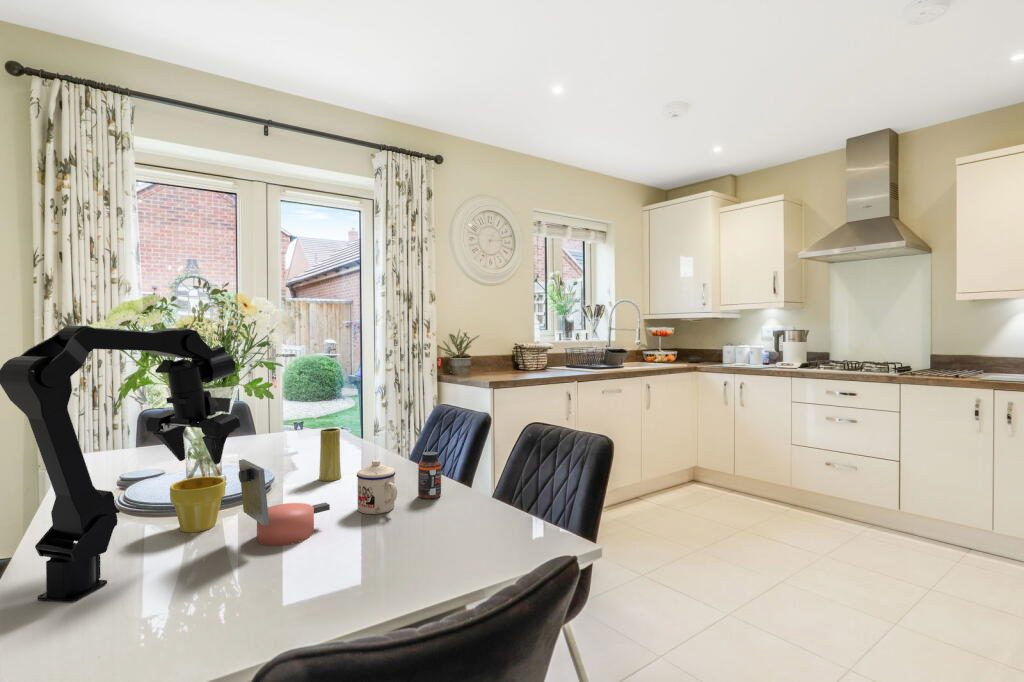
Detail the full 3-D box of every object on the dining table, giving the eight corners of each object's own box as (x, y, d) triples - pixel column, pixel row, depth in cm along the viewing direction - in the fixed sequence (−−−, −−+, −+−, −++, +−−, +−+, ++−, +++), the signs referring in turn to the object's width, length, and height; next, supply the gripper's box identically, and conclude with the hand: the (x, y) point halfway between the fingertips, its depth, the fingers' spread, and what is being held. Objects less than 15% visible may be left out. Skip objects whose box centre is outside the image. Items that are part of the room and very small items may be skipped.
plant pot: (200, 538, 109) (200, 491, 109) (158, 534, 111) (157, 487, 111) (236, 520, 119) (236, 477, 119) (196, 517, 121) (196, 474, 121)
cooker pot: (269, 550, 103) (269, 525, 103) (248, 535, 111) (248, 511, 111) (339, 530, 114) (339, 507, 113) (316, 517, 121) (316, 496, 121)
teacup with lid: (348, 509, 127) (348, 461, 127) (379, 500, 134) (380, 454, 134) (379, 520, 120) (379, 469, 119) (410, 510, 127) (411, 462, 127)
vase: (318, 477, 155) (318, 428, 155) (339, 474, 158) (340, 427, 157) (320, 482, 150) (320, 432, 149) (342, 480, 152) (342, 430, 152)
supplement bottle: (439, 499, 135) (439, 455, 135) (416, 499, 135) (416, 455, 135) (442, 492, 141) (443, 450, 141) (420, 492, 141) (420, 450, 141)
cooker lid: (269, 524, 103) (255, 528, 101) (248, 510, 111) (235, 514, 109) (263, 469, 102) (249, 472, 100) (243, 459, 110) (230, 462, 108)
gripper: (254, 380, 111) (264, 449, 114) (185, 377, 116) (196, 444, 120) (211, 396, 101) (224, 472, 104) (137, 392, 106) (151, 464, 109)
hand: (199, 462), depth 109 cm, fingers open, 9 cm apart
